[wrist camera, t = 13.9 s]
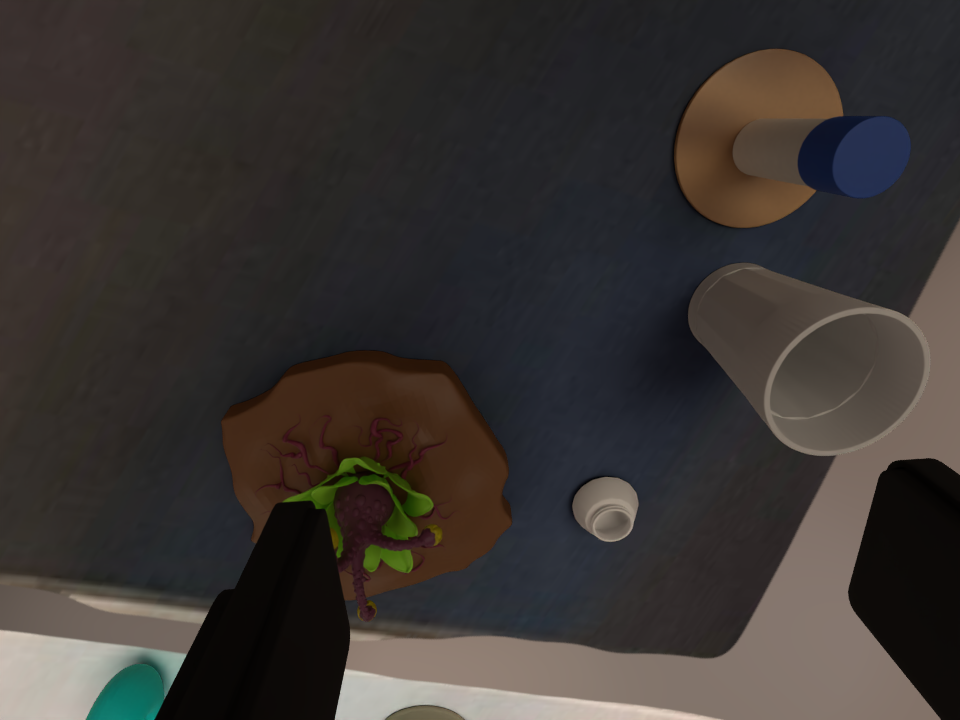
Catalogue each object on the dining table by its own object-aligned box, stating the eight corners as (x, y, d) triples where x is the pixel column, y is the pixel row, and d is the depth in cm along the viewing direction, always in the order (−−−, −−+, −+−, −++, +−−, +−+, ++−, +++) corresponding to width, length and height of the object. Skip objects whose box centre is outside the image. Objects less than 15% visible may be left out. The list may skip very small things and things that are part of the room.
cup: (752, 224, 36) (883, 271, 25) (815, 309, 38) (958, 387, 27) (652, 307, 38) (732, 385, 27) (718, 383, 40) (815, 483, 29)
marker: (734, 118, 33) (841, 118, 24) (791, 114, 33) (920, 113, 24) (727, 178, 34) (825, 200, 25) (782, 175, 34) (900, 196, 25)
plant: (455, 311, 37) (455, 384, 27) (534, 531, 45) (557, 654, 35) (184, 398, 39) (87, 498, 29) (304, 595, 47) (261, 730, 37)
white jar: (566, 523, 45) (626, 528, 45) (573, 549, 42) (637, 554, 43) (578, 471, 43) (641, 477, 43) (586, 494, 40) (654, 500, 41)
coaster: (681, 54, 32) (683, 54, 32) (855, 44, 32) (859, 43, 32) (667, 231, 36) (669, 232, 36) (822, 221, 36) (826, 223, 36)
